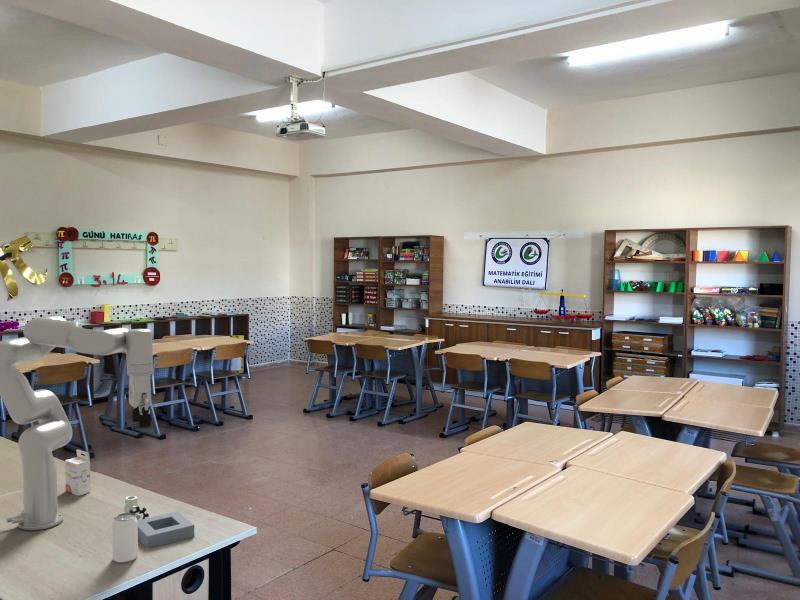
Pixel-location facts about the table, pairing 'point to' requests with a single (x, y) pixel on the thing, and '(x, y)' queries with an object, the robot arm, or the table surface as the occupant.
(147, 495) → the table surface
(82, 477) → the ink cartridge box
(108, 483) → the table surface
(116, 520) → the can
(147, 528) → the socket block
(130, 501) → the valve
